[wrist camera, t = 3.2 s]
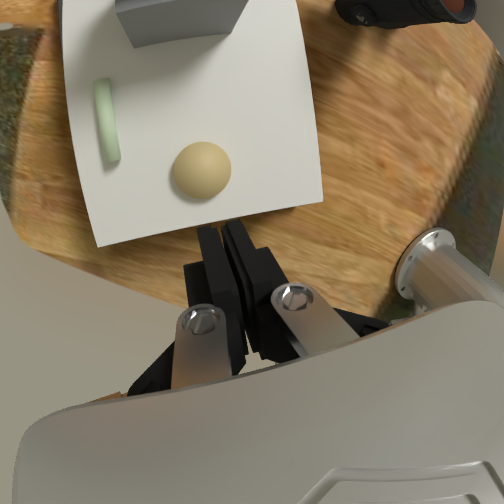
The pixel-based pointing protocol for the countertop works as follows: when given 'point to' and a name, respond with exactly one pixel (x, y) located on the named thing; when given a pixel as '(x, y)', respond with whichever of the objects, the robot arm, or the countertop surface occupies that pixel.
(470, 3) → the scope
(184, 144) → the leveling plate
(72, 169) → the countertop surface
